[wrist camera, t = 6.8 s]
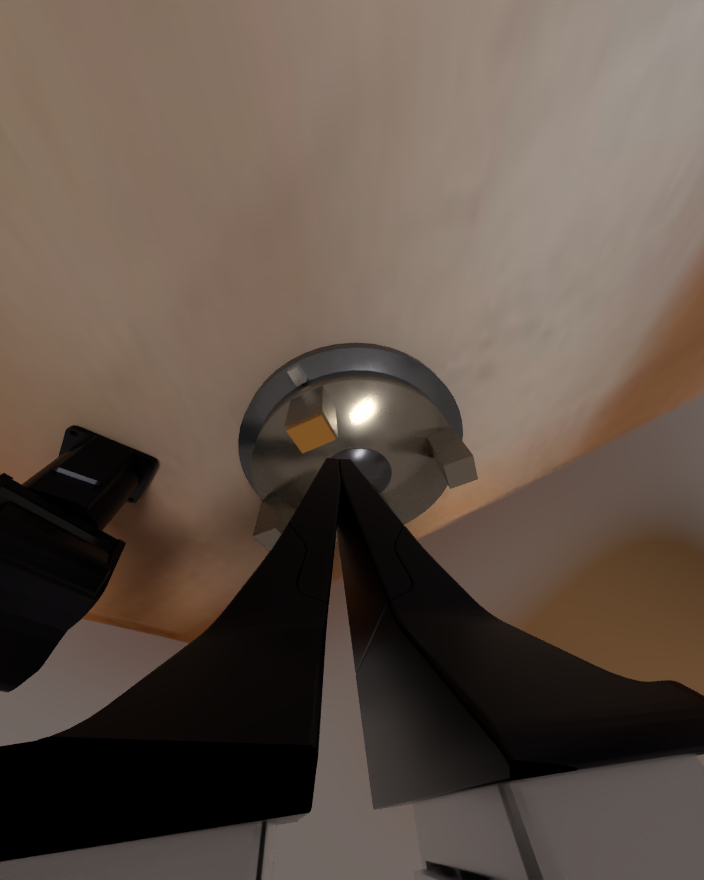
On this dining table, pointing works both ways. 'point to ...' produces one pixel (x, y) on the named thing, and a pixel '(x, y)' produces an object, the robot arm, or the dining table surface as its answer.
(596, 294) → the dining table surface
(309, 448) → the round fixture plate
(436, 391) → the base plate
